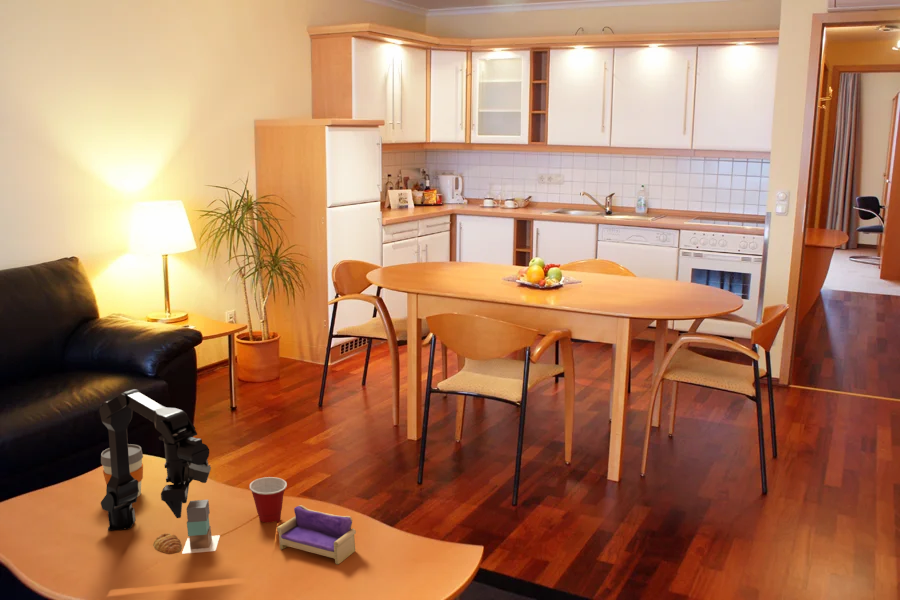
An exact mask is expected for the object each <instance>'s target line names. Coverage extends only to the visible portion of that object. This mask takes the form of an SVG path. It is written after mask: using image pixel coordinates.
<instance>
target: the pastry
mask: <svg viewBox="0 0 900 600" xmlns="http://www.w3.org/2000/svg"><path fill="white" fill-rule="evenodd" d="M152 545H153V546H152V547H153V548H154V549H155V550H156V551H157V552H161V553H164V554H167V555H168V554H169V555H172V554H177V553H179V552H180V551H182V550H183V547H182V543H181V540H180V538H179V537H178V536H177V535H176V534H171V533H170V532H166V533H161V534H160V535H159V536H157V537H156V538H155V540H154V541H153V544H152Z"/></svg>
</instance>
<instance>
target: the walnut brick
mask: <svg viewBox="0 0 900 600" xmlns="http://www.w3.org/2000/svg"><path fill="white" fill-rule="evenodd" d="M211 528H212V527H211V525H210V527H209V530H208V533H207V535H195V536H188V538H189V539H190V549H201V548H209V547H210V543H211V540H212V536H213V535H212V529H211Z"/></svg>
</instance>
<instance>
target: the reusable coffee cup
mask: <svg viewBox="0 0 900 600" xmlns="http://www.w3.org/2000/svg"><path fill="white" fill-rule="evenodd" d="M128 453H129V467H130V474H131V476H132V477H133V478H134V479H136V480H137V481H138V489H139V492H138V496H137V498H138V497H140V495H141V494H142V480H143V478H144V464H143V457H144V454H143V450H142V447H141V446H140V445H139V444H131V443H130V444H129V443H128ZM100 465H102V468H103V470H102V473H103V477H104V481H105V485H106V486H107V484H108V482H109V480H110V478H111V476H112V473H111V460H110V447H108V448H106V449H105V450H102V452H101V454H100Z"/></svg>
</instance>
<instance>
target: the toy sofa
mask: <svg viewBox="0 0 900 600" xmlns="http://www.w3.org/2000/svg"><path fill="white" fill-rule="evenodd" d="M293 511H294V514H295V516H293V517H292V518H290V519H289V520H287V521H285V522H284V523H282V524H281V525H279V526H278V525H277V527H276V531H277V532H278V539H279V549H280V550H284V549H286V548H287V547H289V548H290V547H291V548H294V549H297V550H301V551H304V552H307V553H308V552H309V553H312V554H317V555H320V556H324V557H327V558H331V559H334V563H335V564H336V565H340V563H342V562H343V561H345V560H346V559H347V558H348V557H350V555H353V553H355V552H356V542H355V535H356V533H357V531H356V529H355V528H352V526H353V518H352V516H350V515H336V514H332V513H326V512H322V511H319V510H313V509H309V508H307V507H305V506H304V505H302V504H300V505H298V506H296V507H294V508H293Z"/></svg>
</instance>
